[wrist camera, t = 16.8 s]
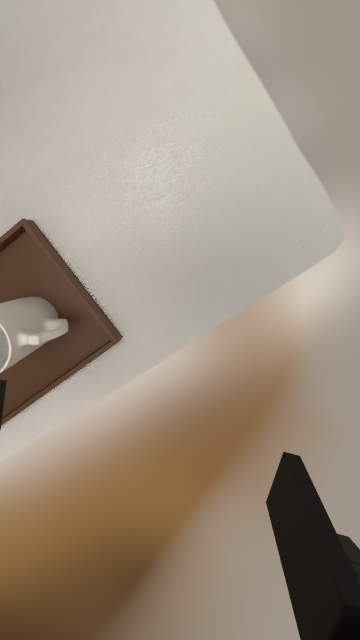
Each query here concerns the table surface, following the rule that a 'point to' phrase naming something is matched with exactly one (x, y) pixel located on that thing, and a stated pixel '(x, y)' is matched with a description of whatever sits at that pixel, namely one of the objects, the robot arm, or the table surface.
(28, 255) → the tray
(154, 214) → the table surface
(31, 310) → the mug
